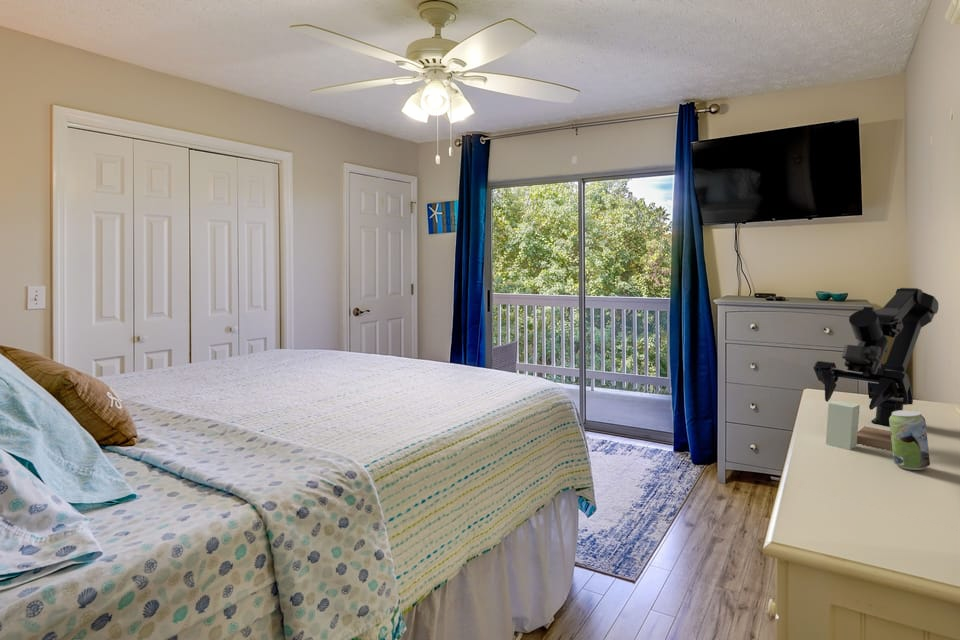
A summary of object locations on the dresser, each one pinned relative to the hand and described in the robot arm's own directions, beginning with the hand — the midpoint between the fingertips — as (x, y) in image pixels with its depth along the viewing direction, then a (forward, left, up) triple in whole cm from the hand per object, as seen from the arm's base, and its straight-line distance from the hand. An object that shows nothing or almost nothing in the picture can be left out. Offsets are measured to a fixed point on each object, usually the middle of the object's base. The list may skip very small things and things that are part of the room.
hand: (847, 404), depth 131 cm
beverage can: (+8, +13, -10) cm, 18 cm away
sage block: (+2, 0, -10) cm, 10 cm away
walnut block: (-7, +6, -10) cm, 14 cm away
